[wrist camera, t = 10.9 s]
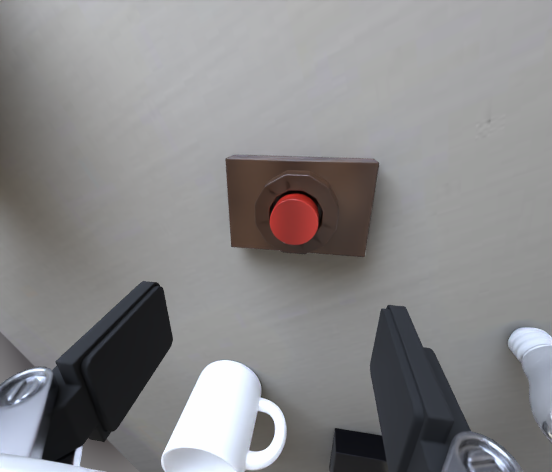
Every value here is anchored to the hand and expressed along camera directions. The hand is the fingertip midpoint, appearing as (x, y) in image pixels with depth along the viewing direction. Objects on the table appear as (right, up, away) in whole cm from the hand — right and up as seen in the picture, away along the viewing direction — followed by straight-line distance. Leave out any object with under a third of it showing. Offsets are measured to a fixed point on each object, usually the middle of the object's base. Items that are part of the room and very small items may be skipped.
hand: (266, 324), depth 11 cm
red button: (+2, +5, +11) cm, 13 cm away
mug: (-4, -16, +26) cm, 30 cm away
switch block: (+2, +7, +15) cm, 16 cm away
